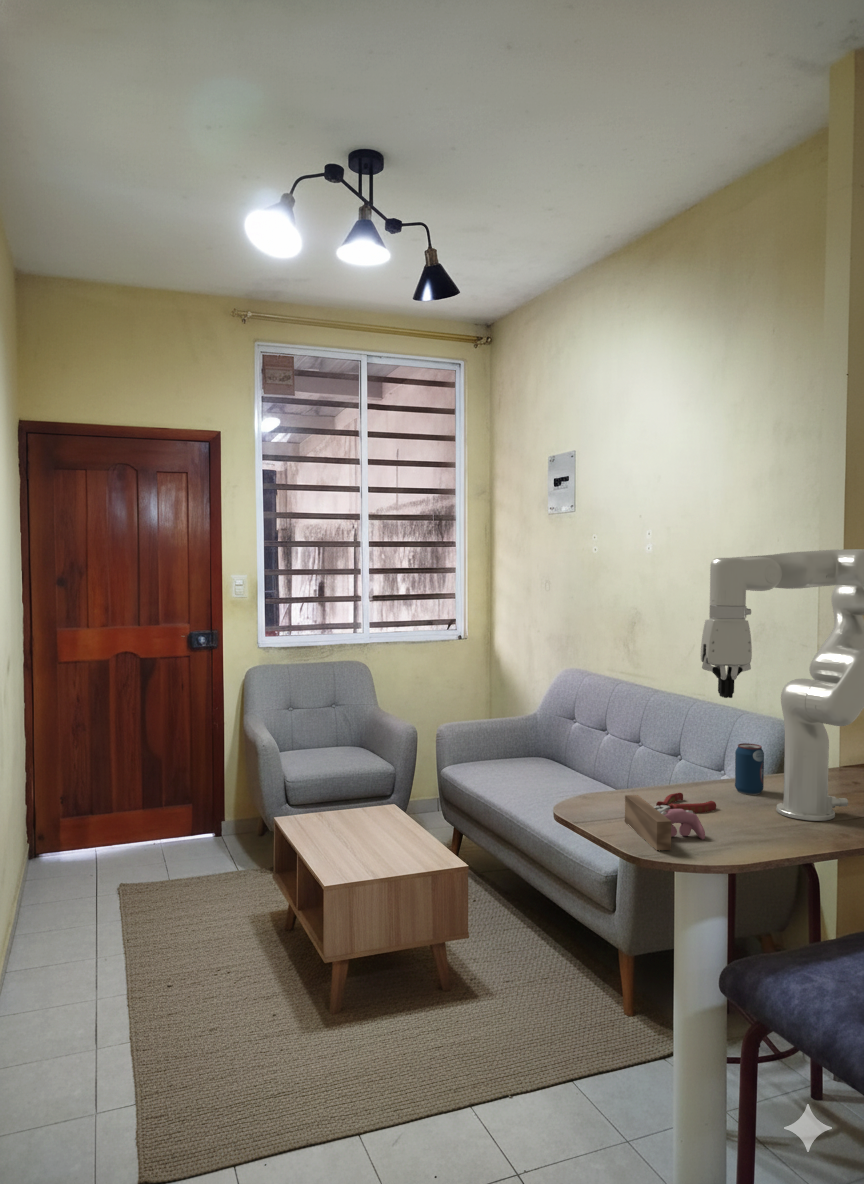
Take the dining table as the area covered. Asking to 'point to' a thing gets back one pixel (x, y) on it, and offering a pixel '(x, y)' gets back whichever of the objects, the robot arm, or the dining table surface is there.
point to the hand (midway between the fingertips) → (725, 696)
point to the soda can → (749, 769)
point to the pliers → (679, 796)
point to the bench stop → (648, 822)
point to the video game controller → (684, 822)
